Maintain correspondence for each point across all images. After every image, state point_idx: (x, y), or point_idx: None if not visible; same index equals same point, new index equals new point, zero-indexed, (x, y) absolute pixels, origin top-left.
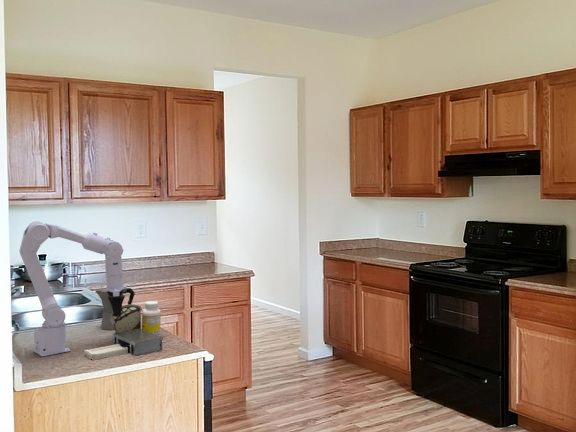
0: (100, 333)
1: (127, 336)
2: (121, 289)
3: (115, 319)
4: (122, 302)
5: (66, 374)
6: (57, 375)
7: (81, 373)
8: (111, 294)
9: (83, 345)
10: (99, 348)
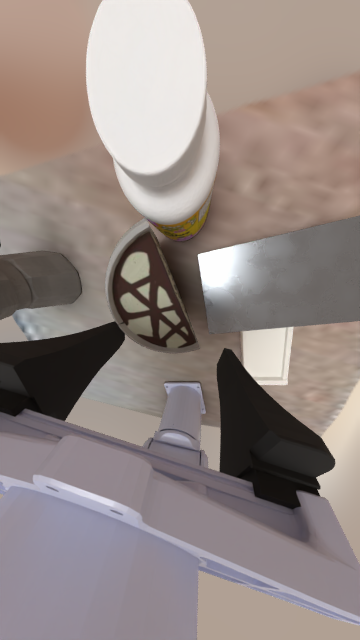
0: (101, 313)
1: (269, 315)
2: (247, 539)
3: (188, 340)
4: (276, 402)
5: (323, 419)
6: (316, 426)
7: (342, 407)
8: (70, 397)
9: (173, 358)
10: (247, 361)
